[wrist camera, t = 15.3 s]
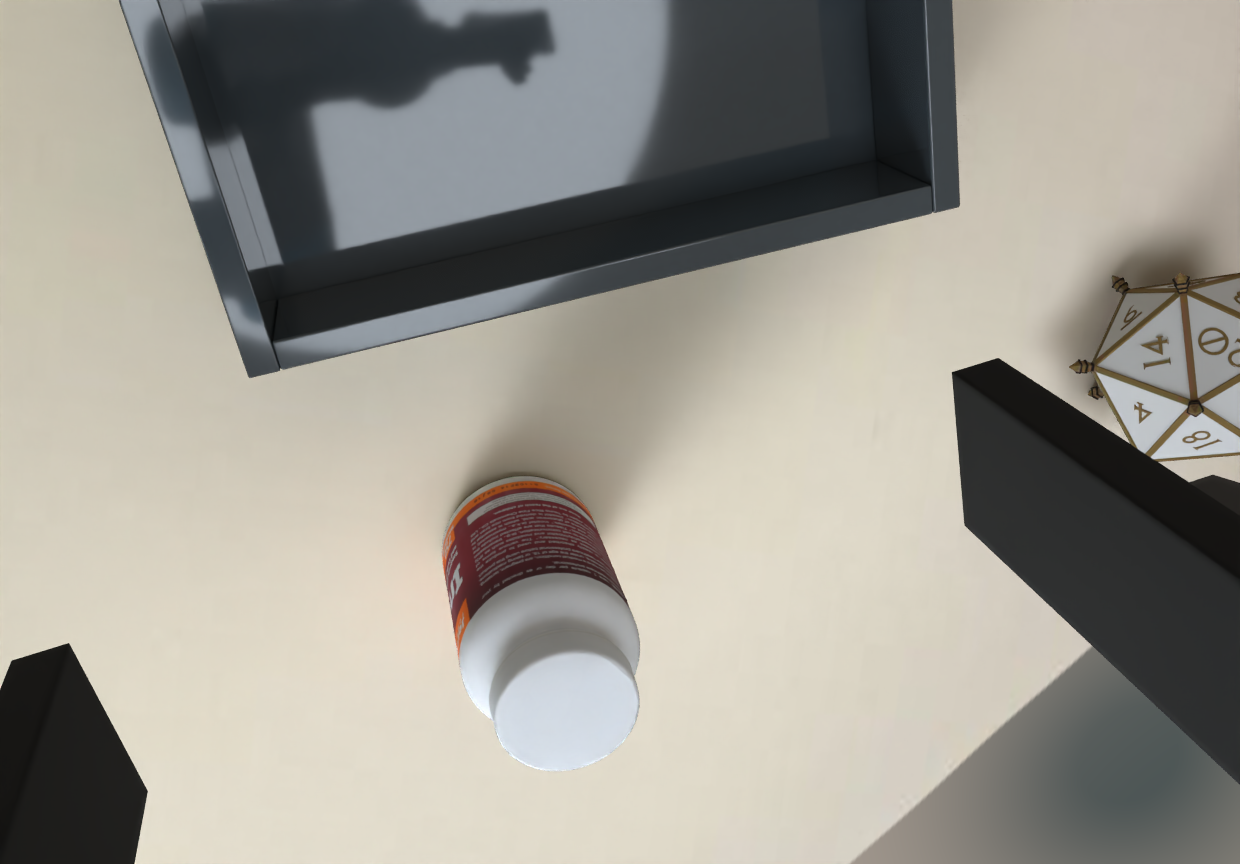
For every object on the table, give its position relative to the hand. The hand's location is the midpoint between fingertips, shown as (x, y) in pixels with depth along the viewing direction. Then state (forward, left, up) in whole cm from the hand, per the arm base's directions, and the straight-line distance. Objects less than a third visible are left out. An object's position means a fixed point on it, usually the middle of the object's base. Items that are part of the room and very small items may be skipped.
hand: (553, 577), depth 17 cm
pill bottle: (0, -14, -26) cm, 30 cm away
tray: (+5, +5, -26) cm, 27 cm away
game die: (+27, -12, -26) cm, 39 cm away
